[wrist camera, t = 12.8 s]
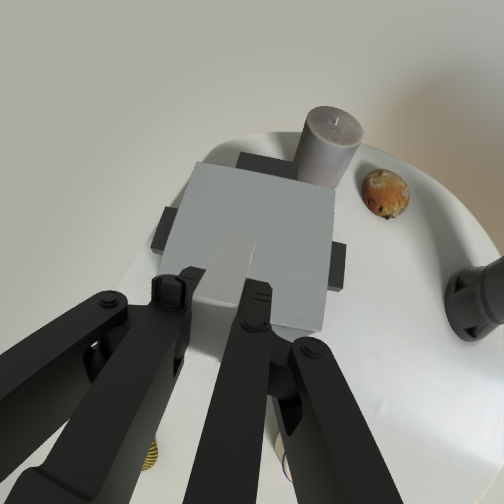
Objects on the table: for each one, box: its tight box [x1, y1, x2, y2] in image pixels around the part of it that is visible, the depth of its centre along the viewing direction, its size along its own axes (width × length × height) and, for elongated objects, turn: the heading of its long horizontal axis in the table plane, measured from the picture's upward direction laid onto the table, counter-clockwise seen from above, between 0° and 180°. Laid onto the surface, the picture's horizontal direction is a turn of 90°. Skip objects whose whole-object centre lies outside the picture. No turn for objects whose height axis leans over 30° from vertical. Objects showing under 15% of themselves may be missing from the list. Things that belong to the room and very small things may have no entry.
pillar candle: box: [293, 106, 364, 190], centre depth 46 cm, size 10×10×15 cm
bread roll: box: [362, 169, 409, 220], centre depth 51 cm, size 10×10×8 cm
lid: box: [151, 152, 335, 332], centre depth 33 cm, size 18×21×1 cm
